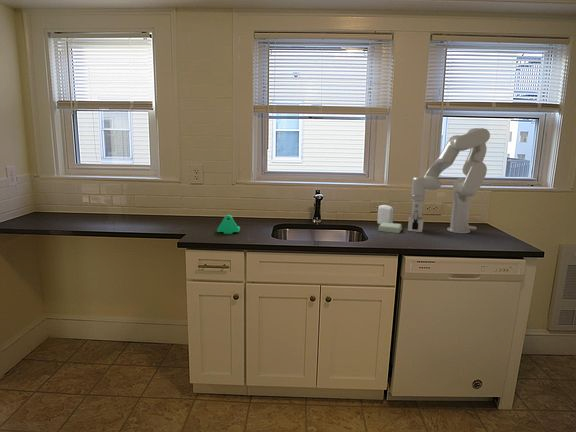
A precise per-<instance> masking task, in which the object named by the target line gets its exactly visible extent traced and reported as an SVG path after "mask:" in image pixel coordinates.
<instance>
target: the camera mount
mask: <svg viewBox="0 0 576 432" xmlns="http://www.w3.org/2000/svg"><path fill="white" fill-rule="evenodd" d="M240 230H241V227H240V226H238V224H237V223H236V222H235V220H234V218H233V216H232V215H231V214H226V215H225V216H224V217H223V219H222V221H221V222H220V224H219V226H218V227H217V229H216V232H217V233H223V234H228V235H231V234H232V235H233V233H239V232H240Z"/></svg>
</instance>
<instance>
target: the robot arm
mask: <svg viewBox="0 0 576 432" xmlns="http://www.w3.org/2000/svg"><path fill="white" fill-rule="evenodd" d="M490 137H491V133H490V130H488V129H487V128H485V127H477V128H476V127H475V128H470V129H469V130H468V131H467V132H466V133H465V134H461V135H459V134H456V135H452V136H451V137H450V138H449V139H448V141H447V142H446V144H445V146H444V147H443V149H442V151H441V153H440V154H439V156H438V158H437V159H436V160H435V161H434V162H433V163H432V164H431V166H430V167H429V168H428V170H427V171H426V173H425V175H423V176H414V177H412V181H411V182H412V184H411V194H410V195H411V196H410V201H412V210H411V212H412V213H411V216H412V217H413V224H412V229H415V230H418V218H417V217H420V218H421V217H423V215H422V213H423V202H425V198H426V190H429V191H437V190H439V189H440V188H441V187H442V182H441V180H440V179H439V177H440V175H441V173H442V172H443V171H445V170H446V169H448V168H450V167H451V166H453V164H454V162H455V160H456V158H457V157H458V156H459V154H460V152H462V151H463V152H464V151H467V150H469V153H468V156H467V157H466V160H465V162H464V164H463V167H462V173H463V175H465V176H466V177H459V178H457V179H456V180H455V181H454V183H453V185H452V208H451V216H450V225H449V227H447V229H446V230H447V231H448V232H451V233H455V234H470V233H471V230H473V231H477V226H474V225H473V226H472V225H469V220H470V208H471V197H473V196H475V195H476V194H478V192H479V190H480V189H481V187H482V184H483V183H484V180H485V178H486V175H487V171H488V168H487V165H486V163H484V159H485V157H486V154H487V144H486V143H487V142H488V141H489V140H490ZM414 216H415V217H414Z"/></svg>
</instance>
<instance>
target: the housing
mask: <svg viewBox="0 0 576 432" xmlns="http://www.w3.org/2000/svg"><path fill="white" fill-rule="evenodd" d="M414 217H415V216H414ZM417 218H418V230H415V229H412V224H413V217H412V215H410V216H409V217H408V222H407V223H408V224H407V231H409V232H415V233H416V232H417V233H418V232H419V233H422V232H423V227H424V216H421V218H420V217H417Z"/></svg>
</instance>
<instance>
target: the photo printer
mask: <svg viewBox="0 0 576 432" xmlns="http://www.w3.org/2000/svg"><path fill="white" fill-rule="evenodd" d="M382 222H384V223H394V208H393V207H392V206H391V205H388V204H381V205H378V208H377V224H378V225H381V223H382Z"/></svg>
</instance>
